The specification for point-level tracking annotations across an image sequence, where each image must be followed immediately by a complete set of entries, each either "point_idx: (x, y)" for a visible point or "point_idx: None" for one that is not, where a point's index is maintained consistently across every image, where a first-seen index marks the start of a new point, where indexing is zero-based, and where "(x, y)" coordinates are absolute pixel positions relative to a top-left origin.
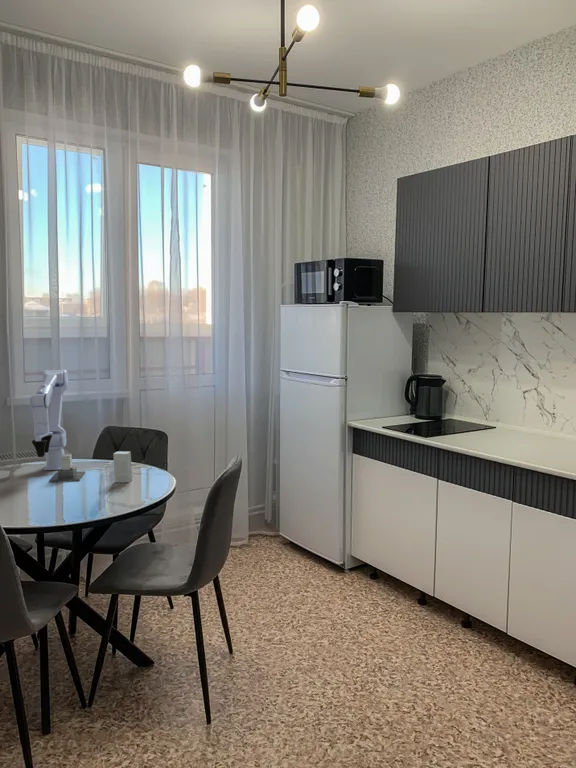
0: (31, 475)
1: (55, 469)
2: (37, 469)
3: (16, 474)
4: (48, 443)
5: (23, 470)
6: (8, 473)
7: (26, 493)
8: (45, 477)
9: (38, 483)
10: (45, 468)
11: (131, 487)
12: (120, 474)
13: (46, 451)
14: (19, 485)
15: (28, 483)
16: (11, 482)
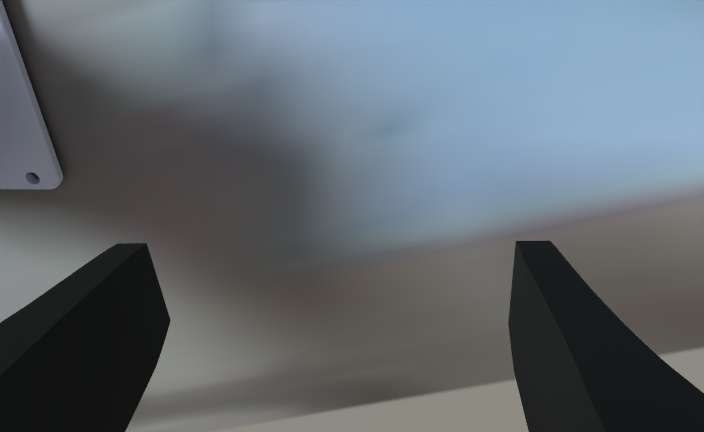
0: (259, 251)
1: (19, 56)
2: (31, 250)
3: (222, 369)
4: (20, 377)
5: None
6: (192, 423)
7: None
8: (356, 87)
9: (628, 99)
10: (22, 179)
11: None
12: None
13: (144, 278)
14: (640, 269)
15: (587, 206)
16: (496, 352)
